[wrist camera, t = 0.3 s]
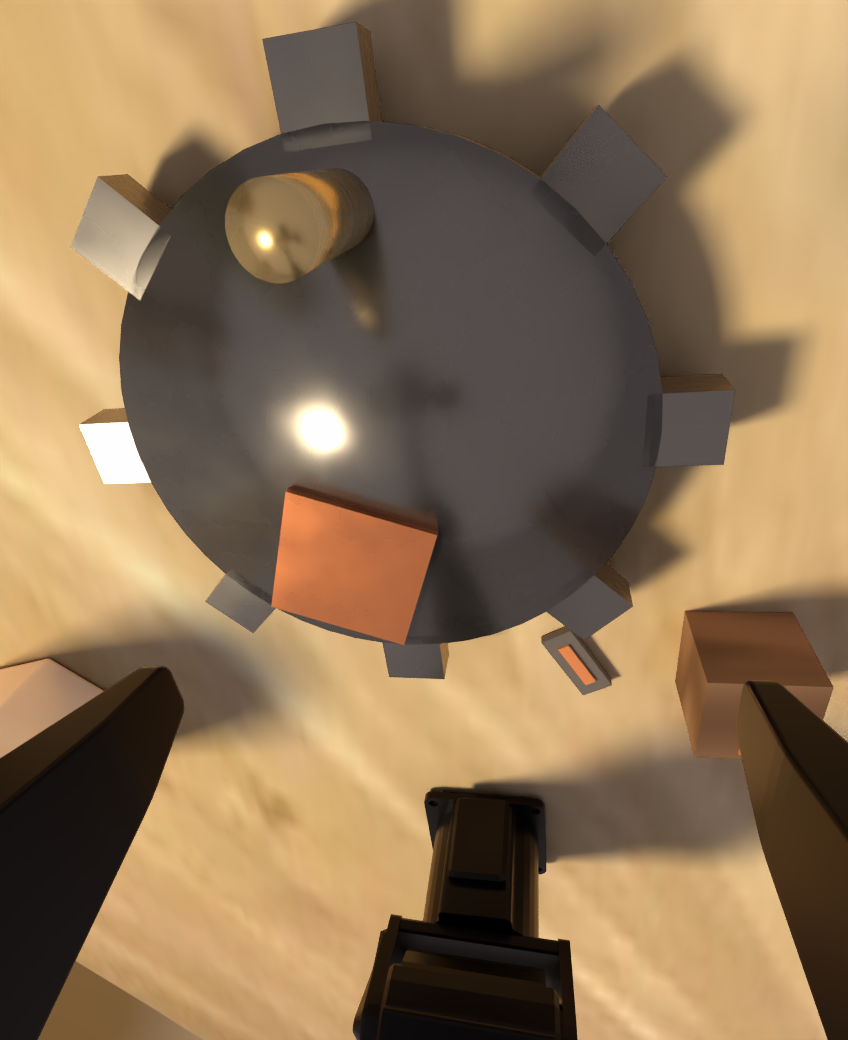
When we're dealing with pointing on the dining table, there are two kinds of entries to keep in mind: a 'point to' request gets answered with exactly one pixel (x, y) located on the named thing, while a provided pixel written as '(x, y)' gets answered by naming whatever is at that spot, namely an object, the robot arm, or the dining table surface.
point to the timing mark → (576, 660)
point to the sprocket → (394, 368)
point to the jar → (37, 699)
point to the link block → (741, 671)
